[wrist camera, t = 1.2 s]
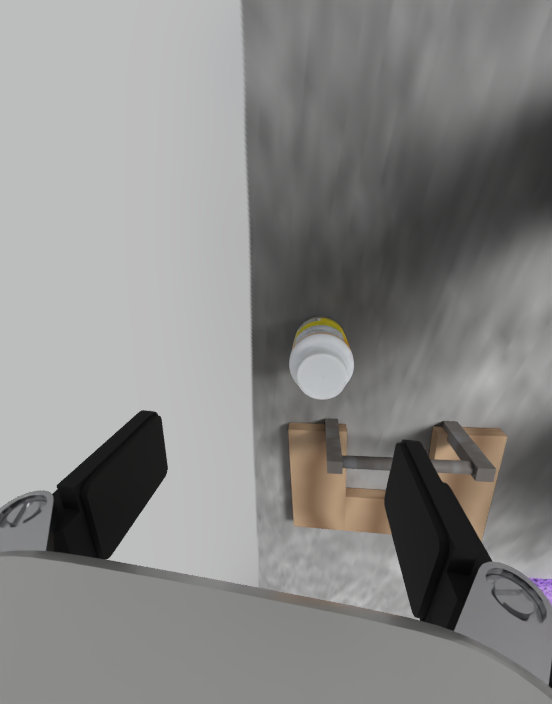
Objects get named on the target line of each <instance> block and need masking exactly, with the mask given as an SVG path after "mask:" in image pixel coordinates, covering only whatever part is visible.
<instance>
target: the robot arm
mask: <svg viewBox="0 0 552 704" xmlns="http://www.w3.org/2000/svg"><path fill="white" fill-rule="evenodd" d="M167 470H168V466H167V458H166V451H165V443H164V435H163V427H162V419H161V417H160V416H158V414H157V413H156V412H153V411H144V410H143V411H140V412H139V413H138V414H136V415H135V416H134V417H133V418H132V419H131V420H130V421H129V422H127V423H126V424H125V425H124V426H123V427H122V428H121V429H120V430H119V431H117V432H116V433H115V434H114V435H113V436H112V437H111V438H109V439H108V440H107V441H106V442H105V443H104V444H103V445H102V446H101V447H99V448H98V449H97V450H96V451H95V452H94V453H93V454H92V455H90V456H89V457H88V458H87V459H86V460H85V461H84V462H82V463H81V464H80V465H79V466H78V467H77V468H76V469H75V470H74V471H72V472H71V473H70V474H69V475H68V476H67V477H66V478H64V479H63V480H62V481H61V482H60V483H59V484H58V485H57V488H58V489H57V490H56V491H55V492H54V493H53V494H51V493H50V492H48V491H34V492H29V493H26V494H24V495H21V496H19V497H17V498H15V499H13V500H11V501H9V502H8V503H7V504H5V505H4V506H2V507H1V508H0V704H552V605H551V603H550V601H549V600H548V599H547V597H546V596H545V594H544V593H543V592H542V590H541V589H540V588H539V587H538V586H537V585H536V584H535V583H534V582H533V581H531V580H530V579H529V578H528V577H526V576H525V575H524V574H522V573H521V572H519V571H517V570H516V569H514V568H512V567H510V566H508V565H505V564H502V563H499V562H492V560H491V558H490V556H489V555H488V553H487V551H486V549H485V547H484V546H483V544H482V542H481V540H480V539H479V537H478V535H477V533H476V532H475V530H474V528H473V526H472V525H471V523H470V521H469V519H468V517H467V516H466V514H465V512H464V510H463V509H462V507H461V505H460V503H459V502H458V500H457V498H456V496H455V494H454V493H453V491H452V489H451V488H450V486H449V485H448V484H447V483H445V482H442V480H441V479H440V477H439V475H438V473H437V471H436V469H435V468H434V466H433V464H432V462H431V460H430V458H429V457H428V455H427V453H426V451H425V449H424V447H423V446H422V444H421V442H419V441H412V440H402V442H401V443H397V444H396V447H395V451H394V456H393V461H392V465H391V470H390V474H389V479H388V483H387V488H386V492H385V497H384V506H385V511H386V514H387V518H388V522H389V526H390V530H391V533H392V537H393V541H394V545H395V549H396V552H397V556H398V560H399V564H400V568H401V571H402V575H403V579H404V583H405V587H406V591H407V594H408V598H409V602H410V606H411V609H412V613H413V615H414V616H415V617H417V618H420V621H418V620H415V619H411V618H407V617H402V616H398V615H393V614H388V613H384V612H379V611H374V610H369V609H365V608H360V607H355V606H351V605H345V604H340V603H335V602H330V601H325V600H320V599H314V598H309V597H304V596H299V595H294V594H289V593H283V592H278V591H273V590H268V589H263V588H257V587H252V586H247V585H241V584H235V583H230V582H225V581H220V580H214V579H208V578H203V577H198V576H193V575H188V574H182V573H177V572H171V571H166V570H160V569H155V568H149V567H143V566H137V565H132V564H126V563H121V562H116V561H110V560H105V559H108V558H109V557H110V556H111V555H112V553H113V552H114V551H115V549H116V548H117V546H118V545H119V544H120V542H121V541H122V539H123V538H124V536H125V535H126V533H127V532H128V530H129V528H130V527H131V526H132V525H133V523H134V522H135V520H136V518H137V517H138V516H139V514H140V513H141V511H142V510H143V508H144V507H145V506H146V504H147V503H148V501H149V500H150V498H151V497H152V495H153V494H154V492H155V491H156V489H157V488H158V487H159V485H160V484H161V482H162V481H163V479H164V478H165V476H166V474H167Z"/></svg>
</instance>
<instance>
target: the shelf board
mask: <svg viewBox="0 0 552 704" xmlns="http://www.w3.org/2000/svg"><path fill="white" fill-rule="evenodd" d="M288 435H289V452H290V469H291V486H292V503H293V520H294V526H299V527H310V528H322V529H334V530H346V531H358V532H370V533H382V534H392V533H391V530H390V526H389V522H388V518H387V514H386V511H385V506H384V497H385V492H386V490H376V489H359V488H346V468H351V469H371V470H391V465H392V461H393V458H391V457H368V456H346V455H347V428H346V424H338V419H325V424H314V423H289V428H288ZM507 437H508V436H507V435H506V434H505V433H504V432H503V431H501V430H500V429H499V428H468V427H461V426H460V425H459V423H458V422H450V421H443V425H442V427H433V430H432V437H431V444H430V451H429V458H430V460H431V462H432V464H433V466H434V468H435V469H436V471H437V473H438V475H439V477H440V479H441V480H442V482H445V483H447V484H448V485H449V486H450V488H451V489H452V491H453V493H454V494H455V496H456V498H457V500H458V502H459V503H460V505H461V507H462V509H463V510H464V512H465V514H466V516H467V517H468V519H469V521H470V523H471V525H472V526H473V528H474V530H475V532H476V533H477V535H478V537H479V539H480V540H481V541H482V537H483V533H484V529H485V525H486V521H487V517H488V513H489V509H490V505H491V501H492V497H493V493H494V489H495V485H496V481H497V477H498V473H499V469H500V465H501V461H502V457H503V453H504V449H505V445H506V441H507Z"/></svg>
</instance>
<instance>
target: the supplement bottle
mask: <svg viewBox="0 0 552 704" xmlns="http://www.w3.org/2000/svg"><path fill="white" fill-rule="evenodd" d="M289 369H290V373H291V376H292V378H293V380H294V381H295V382H296V384H297V385H298V386H299V387H300V389H301V390H302V391H303V392H304V393H305V394H306V395H308V396H309V397H312V398H315V399H321V400H322V399H330V398H333V397H335V396H337V395H338V394H339V393H340V392H341V391H342V390H343V389H344V387H345V385H346V384H347V383H348V381H349V380H350V378H351V376H352V374H353V370H354V359H353V355H352V352H351V349H350V347H349V343H348V341H347V338H346V335H345V333H344V331H343V329H342V327H341V326H340V325H339V324H338V323H337V322H336V321H334V320H332V319H330V318H327V317H314V318H311V319H309V320H307V321H305V322H304V323H303V324H302V325H301V326H300V327H299V329H298V330H297V333H296V336H295V339H294V343H293V347H292V351H291V355H290V359H289Z"/></svg>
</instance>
